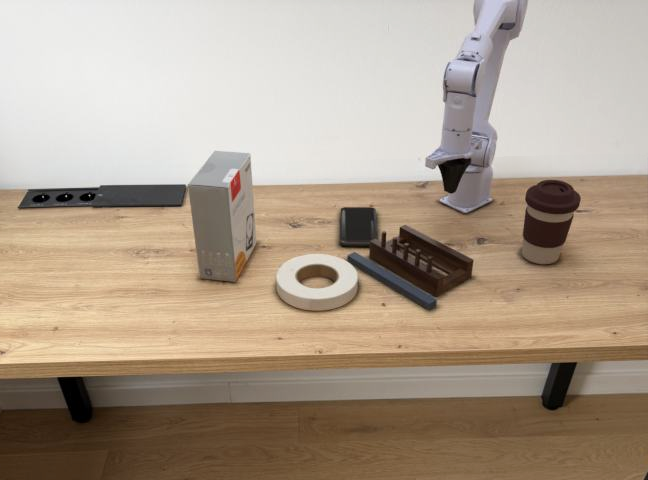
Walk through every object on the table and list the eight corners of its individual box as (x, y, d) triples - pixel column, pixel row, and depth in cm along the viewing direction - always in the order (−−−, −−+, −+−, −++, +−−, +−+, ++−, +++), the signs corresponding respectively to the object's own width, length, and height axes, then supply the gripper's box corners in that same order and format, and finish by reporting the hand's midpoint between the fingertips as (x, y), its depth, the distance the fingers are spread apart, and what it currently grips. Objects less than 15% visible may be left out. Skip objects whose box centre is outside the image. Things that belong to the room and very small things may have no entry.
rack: (403, 241, 142) (406, 211, 138) (471, 277, 132) (476, 245, 127) (369, 258, 138) (370, 227, 133) (436, 297, 127) (439, 265, 122)
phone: (339, 241, 140) (340, 206, 152) (339, 246, 141) (340, 211, 153) (378, 242, 140) (376, 207, 151) (377, 247, 141) (376, 211, 152)
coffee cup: (508, 261, 136) (521, 192, 126) (521, 238, 143) (535, 171, 133) (559, 273, 132) (576, 203, 123) (570, 249, 139) (587, 181, 129)
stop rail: (354, 258, 138) (354, 251, 137) (436, 306, 125) (437, 299, 124) (347, 261, 137) (347, 255, 136) (428, 310, 124) (429, 303, 123)
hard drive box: (236, 283, 131) (226, 188, 119) (198, 279, 132) (184, 184, 120) (258, 242, 143) (250, 151, 130) (223, 239, 144) (212, 149, 132)
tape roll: (363, 270, 134) (364, 257, 132) (349, 316, 123) (349, 303, 121) (287, 261, 137) (286, 249, 135) (266, 306, 125) (265, 293, 124)
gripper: (448, 142, 125) (440, 209, 133) (498, 122, 132) (488, 187, 140) (419, 131, 129) (414, 197, 138) (470, 112, 136) (461, 175, 145)
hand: (449, 191), depth 139 cm, fingers closed
